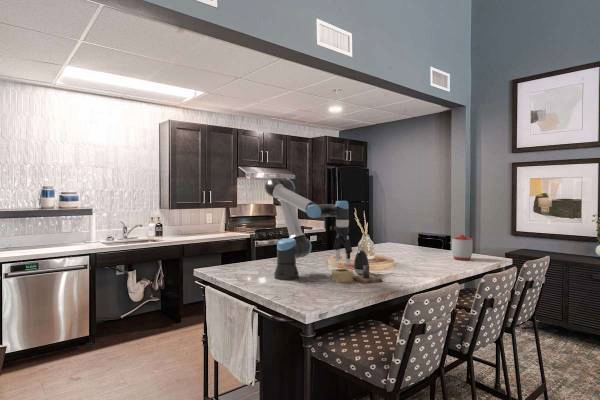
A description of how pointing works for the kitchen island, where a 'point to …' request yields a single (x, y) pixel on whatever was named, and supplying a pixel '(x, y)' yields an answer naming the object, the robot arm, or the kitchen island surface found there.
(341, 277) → the brass collar
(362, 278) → the post stand
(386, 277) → the kitchen island surface
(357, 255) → the black tall oval piece
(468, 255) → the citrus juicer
